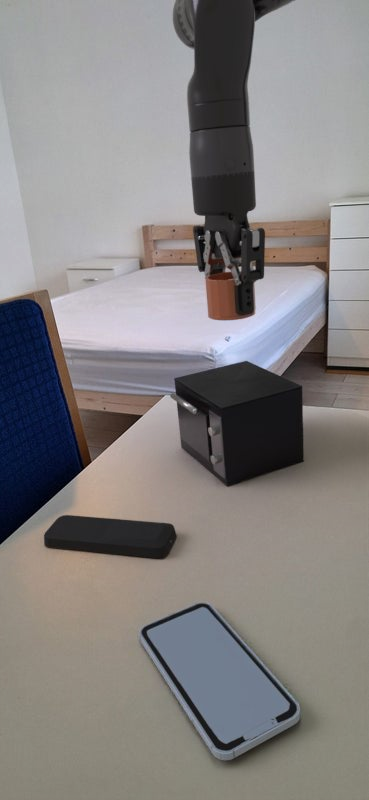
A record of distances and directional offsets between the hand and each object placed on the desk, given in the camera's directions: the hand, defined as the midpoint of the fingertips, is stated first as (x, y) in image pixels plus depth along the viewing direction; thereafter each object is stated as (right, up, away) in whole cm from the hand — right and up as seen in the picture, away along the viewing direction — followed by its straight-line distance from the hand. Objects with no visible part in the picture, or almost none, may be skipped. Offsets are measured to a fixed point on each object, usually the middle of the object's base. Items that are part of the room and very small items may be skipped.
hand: (231, 309), depth 77 cm
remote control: (-15, -28, -9) cm, 33 cm away
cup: (0, -1, 0) cm, 1 cm away
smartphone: (-4, -34, -28) cm, 44 cm away
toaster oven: (+2, -19, +8) cm, 21 cm away
